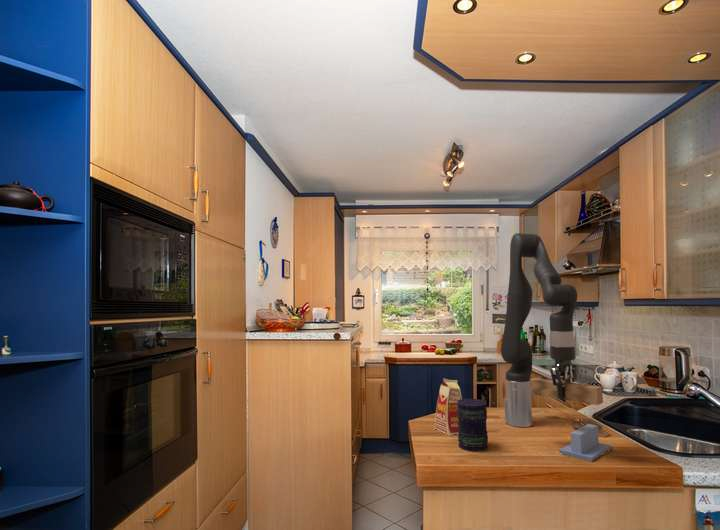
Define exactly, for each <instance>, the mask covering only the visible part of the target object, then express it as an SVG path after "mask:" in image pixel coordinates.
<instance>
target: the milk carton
mask: <svg viewBox="0 0 720 530" xmlns="http://www.w3.org/2000/svg"><path fill="white" fill-rule="evenodd" d="M442 380H443V381H442V383H441V384H440V387H439V393H438V397H437V401H436V402H437V403H436V410H435V418H434V430H435V429H437V430H439V431H441V432H443V433H446V434H448V435H453V434H457V435H458V429H459V419H458V416H457V415H458V413H457V409H458V408H457V406H458V404H457V401H458V400H461V399H463V397H462V392H461V388H460V386H459V384H458V381H459V380H457V379H455V380H454V379H448V378H444V377H443V378H442ZM437 430H436V431H437ZM439 431H438V432H439ZM441 432H440V433H441ZM443 433H442V434H443ZM453 436H454V435H453Z"/></svg>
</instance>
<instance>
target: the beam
mask: <svg viewBox="0 0 720 530" xmlns="http://www.w3.org/2000/svg"><path fill="white" fill-rule="evenodd" d="M530 394H531V395H535V396H540V397H546V398H552V399H559V400H561V399H560V398H558V389H557V386H556V385H553V381H552V379H548V378H540V377H533V378H530ZM603 394H604V393H603V387H602V386H599V385H593V384H585V383H576V382H573V383H570V382H565V399H562V400H563V401H569V402H570V401H571V402H574V403H575V402H576V403H577V402H578V403H583V404H588V405H595V406H599V405H602V404H603V403H604V396H603Z"/></svg>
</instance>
